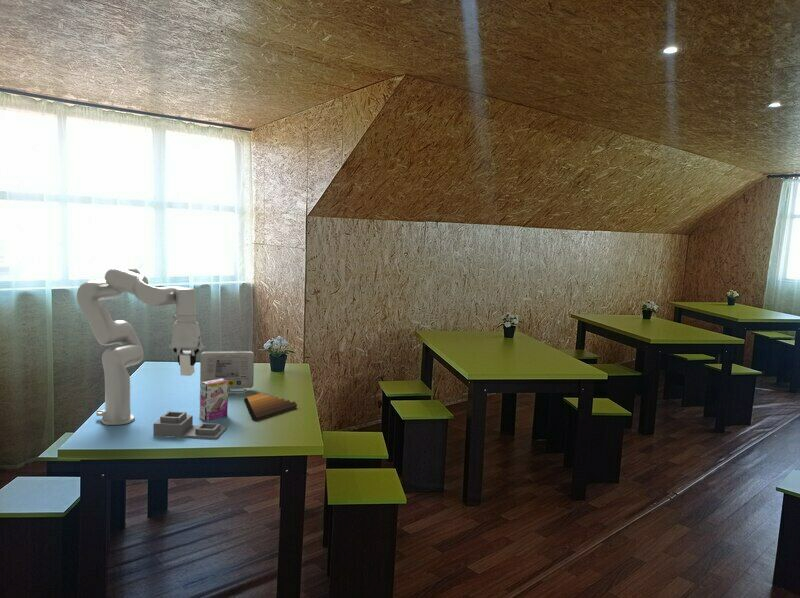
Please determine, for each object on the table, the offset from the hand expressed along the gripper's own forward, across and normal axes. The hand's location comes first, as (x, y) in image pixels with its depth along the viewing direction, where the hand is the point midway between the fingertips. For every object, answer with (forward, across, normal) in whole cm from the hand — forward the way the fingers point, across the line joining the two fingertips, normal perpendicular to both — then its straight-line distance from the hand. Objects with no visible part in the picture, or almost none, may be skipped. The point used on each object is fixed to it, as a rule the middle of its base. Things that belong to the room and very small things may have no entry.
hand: (187, 364), depth 233 cm
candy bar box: (+28, +4, +19) cm, 34 cm away
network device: (+28, -4, +60) cm, 66 cm away
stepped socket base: (+28, +1, 0) cm, 28 cm away
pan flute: (+29, +19, +35) cm, 49 cm away
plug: (+4, 0, +1) cm, 4 cm away
